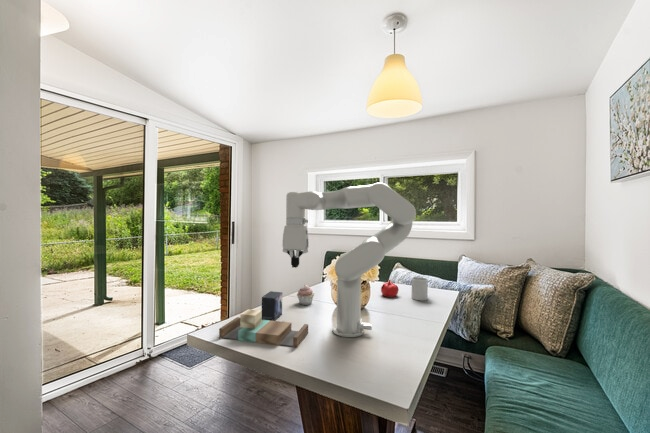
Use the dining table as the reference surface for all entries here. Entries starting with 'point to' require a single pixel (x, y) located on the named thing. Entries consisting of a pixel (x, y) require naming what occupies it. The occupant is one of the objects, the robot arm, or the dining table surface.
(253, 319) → the beech block
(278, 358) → the dining table surface
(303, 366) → the dining table surface
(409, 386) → the dining table surface
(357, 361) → the dining table surface
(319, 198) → the robot arm
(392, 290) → the pomegranate
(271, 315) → the small box
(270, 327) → the board
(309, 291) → the cupcake
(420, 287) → the mug
